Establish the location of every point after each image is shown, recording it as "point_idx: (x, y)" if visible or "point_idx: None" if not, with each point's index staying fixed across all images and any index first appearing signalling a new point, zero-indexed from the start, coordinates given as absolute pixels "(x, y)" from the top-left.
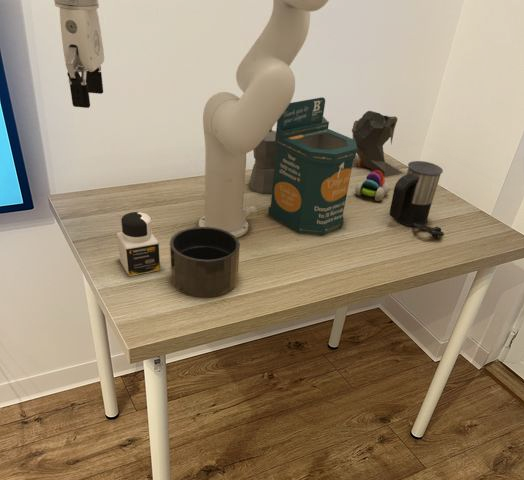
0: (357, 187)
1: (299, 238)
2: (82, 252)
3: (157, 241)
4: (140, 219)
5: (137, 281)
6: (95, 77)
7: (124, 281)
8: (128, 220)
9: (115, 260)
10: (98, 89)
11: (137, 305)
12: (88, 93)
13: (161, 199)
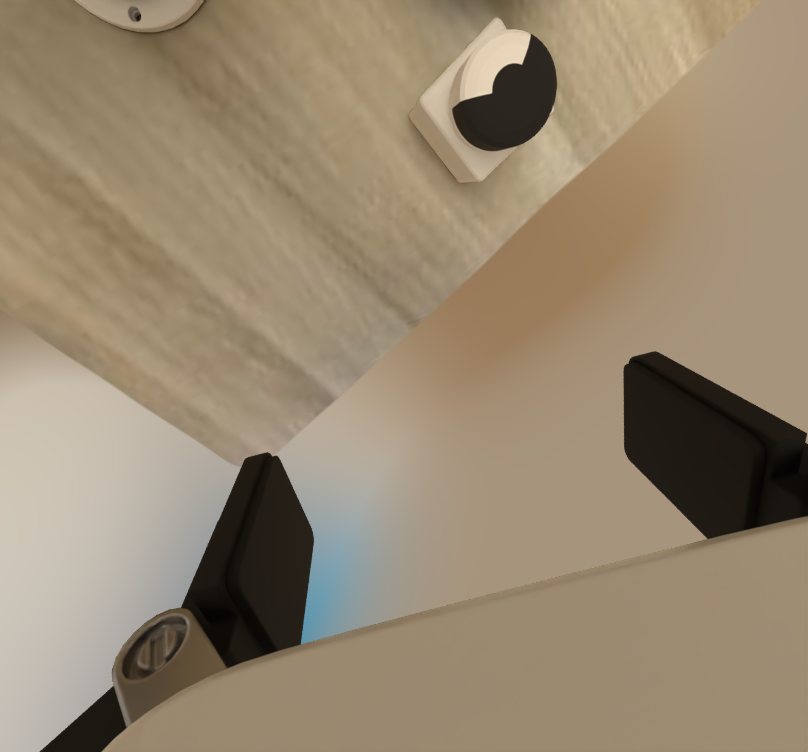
0: None
1: None
2: (452, 286)
3: (494, 21)
4: (529, 59)
5: None
6: (264, 577)
7: None
8: (544, 102)
9: (460, 195)
10: (279, 489)
11: (633, 38)
12: (718, 395)
13: (85, 236)
